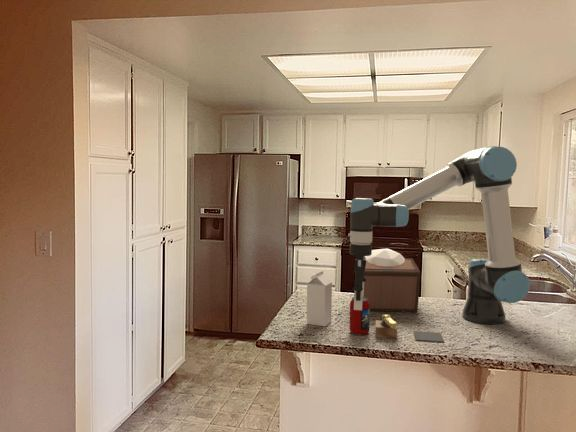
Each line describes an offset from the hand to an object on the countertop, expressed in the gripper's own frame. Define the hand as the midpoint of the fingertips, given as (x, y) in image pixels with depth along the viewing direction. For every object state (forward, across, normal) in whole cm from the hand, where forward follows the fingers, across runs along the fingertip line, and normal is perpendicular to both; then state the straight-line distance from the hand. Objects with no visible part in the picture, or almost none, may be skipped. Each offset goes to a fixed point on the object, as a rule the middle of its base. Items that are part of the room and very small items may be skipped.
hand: (358, 304), depth 160 cm
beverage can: (+10, 0, 0) cm, 10 cm away
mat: (+9, 0, +24) cm, 25 cm away
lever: (+5, +3, +10) cm, 12 cm away
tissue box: (+10, -40, +9) cm, 42 cm away
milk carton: (+10, -8, -14) cm, 19 cm away
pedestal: (+10, 0, +10) cm, 14 cm away
